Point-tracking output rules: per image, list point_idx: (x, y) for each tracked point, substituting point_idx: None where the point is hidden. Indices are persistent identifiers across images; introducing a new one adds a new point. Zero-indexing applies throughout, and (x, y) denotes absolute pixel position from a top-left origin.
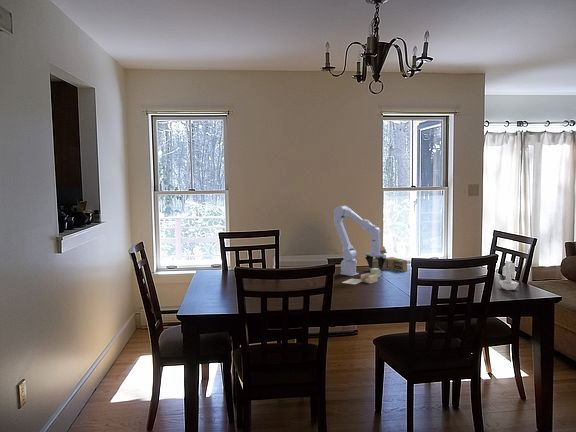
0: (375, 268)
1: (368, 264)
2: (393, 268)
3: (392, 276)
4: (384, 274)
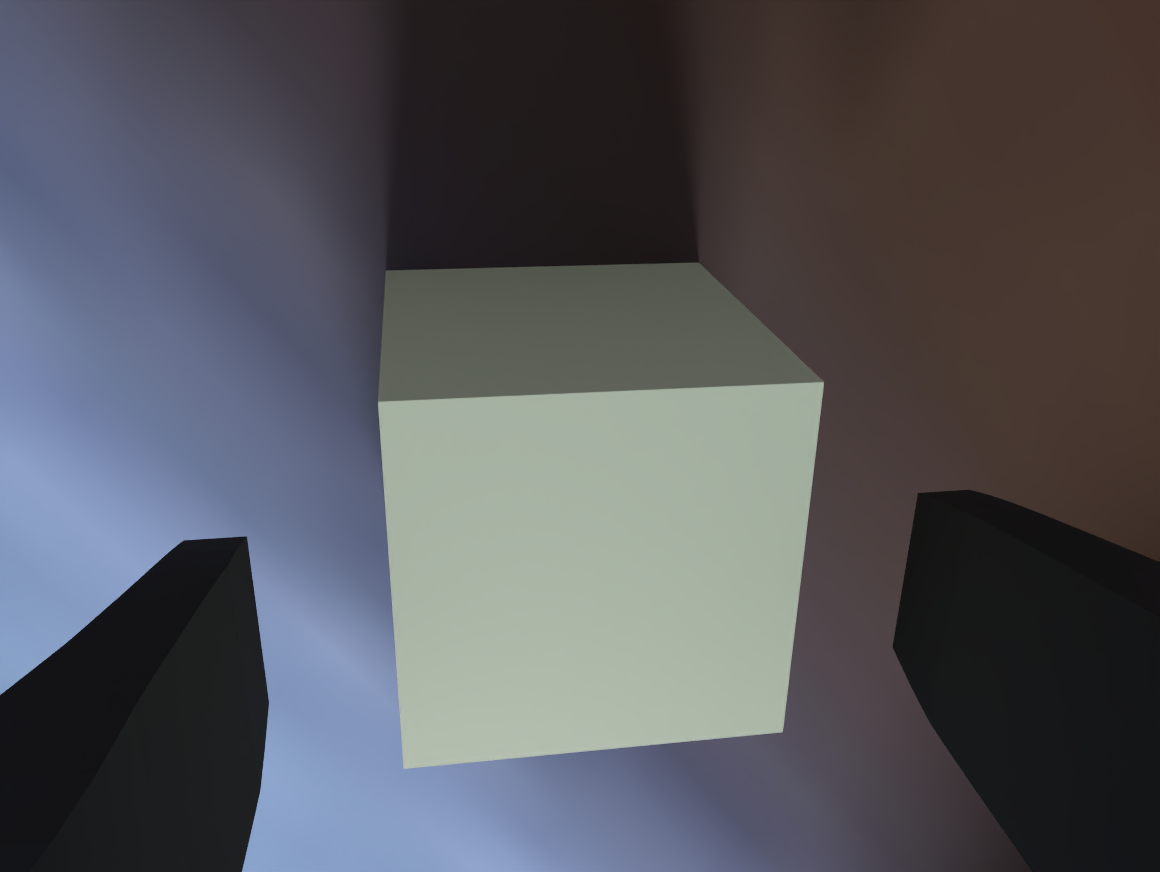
0: (655, 635)
1: (1136, 555)
2: None
3: None
4: (520, 833)
